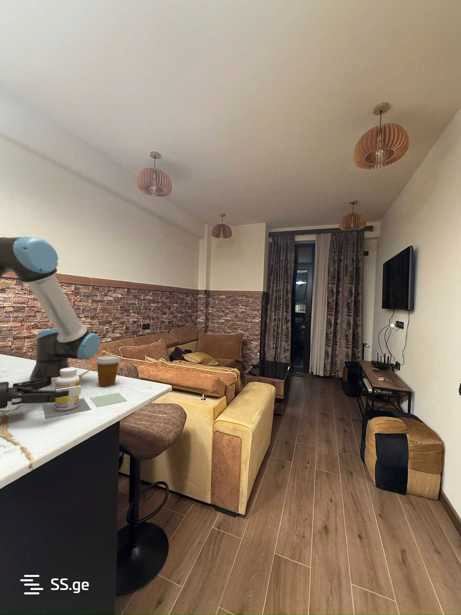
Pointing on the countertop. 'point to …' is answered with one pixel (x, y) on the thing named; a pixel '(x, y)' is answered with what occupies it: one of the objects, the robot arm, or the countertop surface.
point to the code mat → (52, 412)
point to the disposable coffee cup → (107, 370)
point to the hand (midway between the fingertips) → (77, 384)
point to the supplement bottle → (65, 381)
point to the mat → (108, 399)
